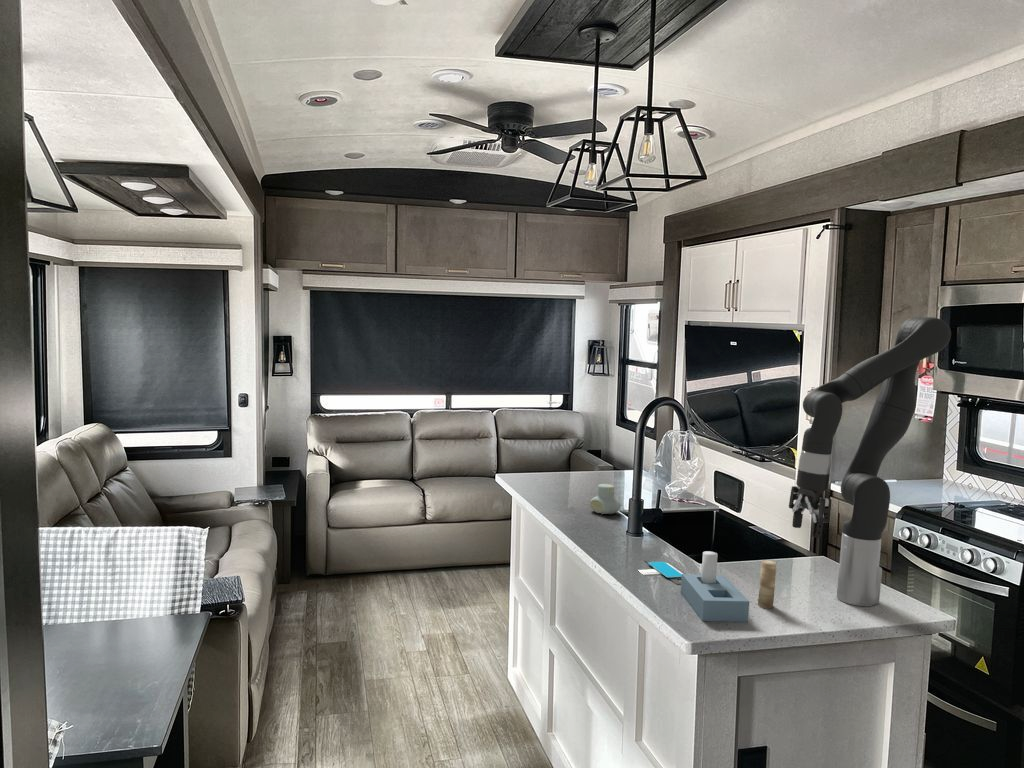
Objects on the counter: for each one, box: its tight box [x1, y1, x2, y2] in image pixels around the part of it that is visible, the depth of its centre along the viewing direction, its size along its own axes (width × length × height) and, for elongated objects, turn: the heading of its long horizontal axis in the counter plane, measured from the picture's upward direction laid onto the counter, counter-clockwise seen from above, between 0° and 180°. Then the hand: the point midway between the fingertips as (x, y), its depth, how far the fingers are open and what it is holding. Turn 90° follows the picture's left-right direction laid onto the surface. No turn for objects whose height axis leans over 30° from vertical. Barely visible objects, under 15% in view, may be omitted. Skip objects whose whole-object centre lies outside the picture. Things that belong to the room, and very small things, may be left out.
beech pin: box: [757, 559, 777, 609], centre depth 189 cm, size 4×4×11 cm
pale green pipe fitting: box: [589, 483, 621, 515], centre depth 272 cm, size 11×8×10 cm
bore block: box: [680, 550, 751, 623], centre depth 186 cm, size 11×18×12 cm, turn 4°
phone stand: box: [637, 558, 687, 585], centre depth 211 cm, size 20×12×2 cm, turn 16°
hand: (806, 532), depth 193 cm, fingers open, 8 cm apart
